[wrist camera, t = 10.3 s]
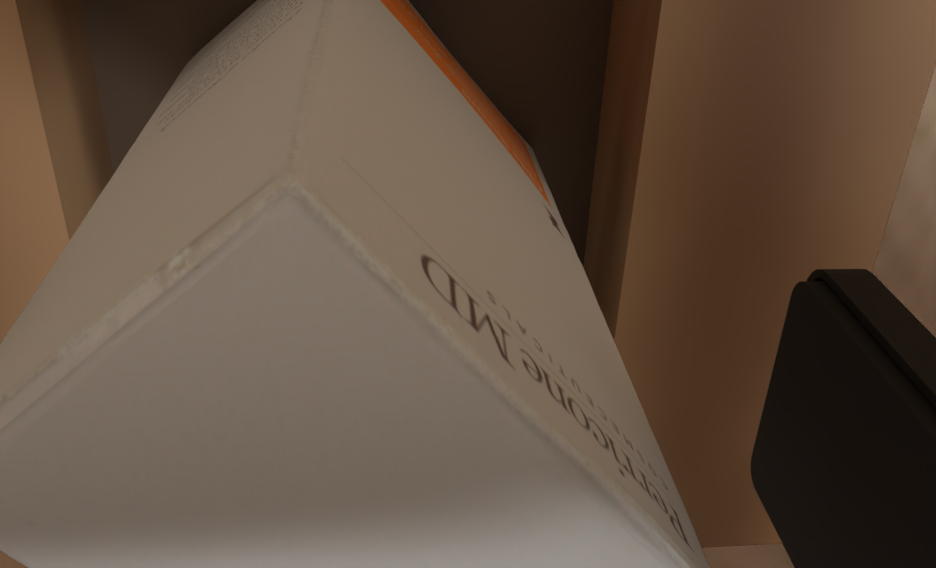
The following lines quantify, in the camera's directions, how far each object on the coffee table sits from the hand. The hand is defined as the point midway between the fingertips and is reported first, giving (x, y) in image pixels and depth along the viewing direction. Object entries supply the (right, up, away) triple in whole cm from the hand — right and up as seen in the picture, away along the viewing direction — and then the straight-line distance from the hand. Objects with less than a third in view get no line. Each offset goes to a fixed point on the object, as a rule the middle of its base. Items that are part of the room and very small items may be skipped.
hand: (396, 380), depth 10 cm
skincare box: (-1, +5, +8) cm, 9 cm away
